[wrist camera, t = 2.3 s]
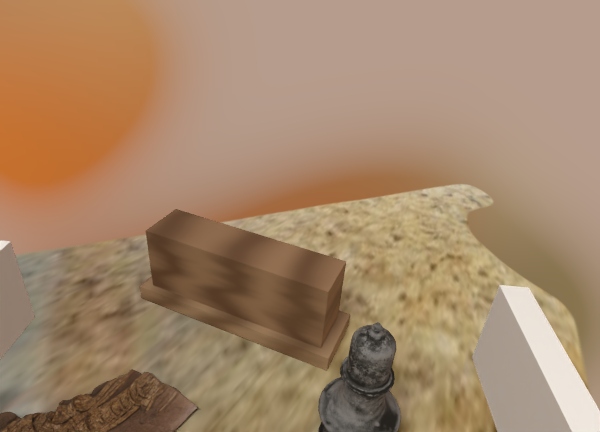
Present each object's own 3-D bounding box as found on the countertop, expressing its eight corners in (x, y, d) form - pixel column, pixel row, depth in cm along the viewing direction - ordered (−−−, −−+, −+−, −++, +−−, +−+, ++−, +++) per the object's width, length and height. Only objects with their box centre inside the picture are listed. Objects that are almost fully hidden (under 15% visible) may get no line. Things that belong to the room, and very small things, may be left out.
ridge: (141, 297, 45) (131, 231, 41) (177, 265, 50) (172, 203, 46) (326, 370, 39) (336, 301, 35) (348, 325, 44) (359, 260, 40)
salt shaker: (311, 404, 36) (326, 290, 30) (383, 404, 37) (412, 292, 31) (317, 478, 31) (336, 360, 25) (400, 477, 32) (439, 361, 26)
